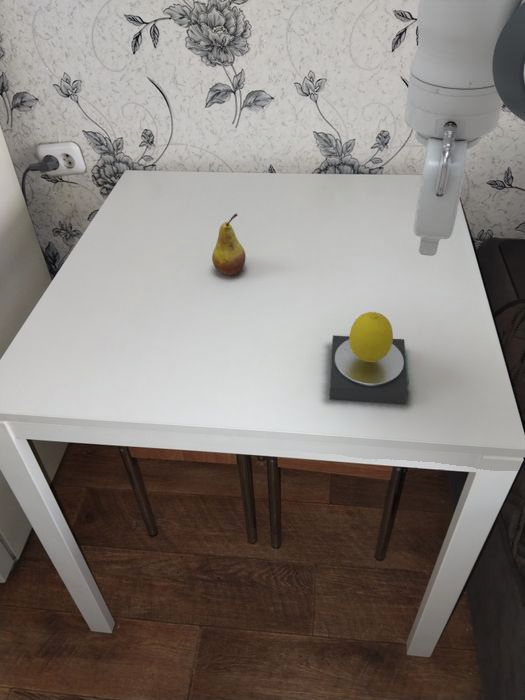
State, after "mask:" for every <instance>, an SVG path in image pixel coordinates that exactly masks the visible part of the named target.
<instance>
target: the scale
mask: <svg viewBox="0 0 525 700" xmlns="http://www.w3.org/2000/svg"><path fill="white" fill-rule="evenodd" d="M349 337H350V335H336V334H335V335H332V340H331V359H330V360H331V361H330V378H329V379H330V380H329V400H331V401H346V402H357V403H358V402H359V403H372V404H373V403H375V404H388V405H390V404H391V405H404V406H405V405H406V404H407V399H408V395H409V384H410V377H409V364H408V354H406V345H405V344H406V343H405V339H404V338H393V341H392V344H393V345H394V346H396V347H397V348H398V349H399V351H400V352H401V354H402V356H403V360H404V365H403V370H402V373H401V374H400V376H399V377H398V378H397V379H396V380H395V381H393V382H391V383H390V384H387V385H384V386H380V387H364V386H360V385H356V384H354V383H351V382H350V381H348V380H346V379H345V378H344V377H342V376H341V375H340V373H339V372H338V370H337V369H336V366H335V353H336V351H337V349H338V347H339V346H340V345H341V344H342V343H344V342H345V341H347V340H349Z"/></svg>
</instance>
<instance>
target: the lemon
mask: <svg viewBox="0 0 525 700" xmlns="http://www.w3.org/2000/svg"><path fill="white" fill-rule="evenodd" d="M349 332H350V333H349V336H350V337H349V341H350V347H351V349H352V351H353V353H354V355H355V356H356V357H357V358H359V359H360V360H363V361H365V362H376V361H379V360H381V359H382V358H384V357H385V356H386V355H387V353H388V352H389V350H390V348H391V345H392V341H393V339H394V333H393V327H392V324H391V322H390V320H389V319H388V318H387V317H386V316H385V315H384V314H382V313H379V312H376V311H368V312H365V313H362V314H360V315H359V316H358V317H357V318H356V319H355V321H354V322H353V323H352V325H351V329H350V331H349Z"/></svg>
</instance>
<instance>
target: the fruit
mask: <svg viewBox="0 0 525 700" xmlns="http://www.w3.org/2000/svg"><path fill="white" fill-rule="evenodd" d="M238 216H239V215H238V213H234V214H233V215H232V217H230V219H229V220H228V221H225V222H223V223H222V224H221V225H220V227H219V230H218V237H217V240H216V244H215V247H214V249H213V251H212V256H211V260H212V264H213V266H214V268H215V269H216V270H217V271H218V272H219V273H221V274H224V275H226V276H233V275H236V274H239V272H241V270H242V269H243V268H244V267H245V264H246V260H247V259H246V258H247V257H246V252H245V249H244V247H243V245H242V244H241V243H240V241H239V240H238V238H237V236H236V233H235V230H234V228H233V226H232V225H231V222H232V221H233V220H234V219H235V218H237V217H238Z"/></svg>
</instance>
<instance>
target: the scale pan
mask: <svg viewBox="0 0 525 700" xmlns="http://www.w3.org/2000/svg"><path fill="white" fill-rule="evenodd" d="M403 365H404V360H403V356H402V354H401V352H400V351H399V349H398V348H397V347H396V346H394V345H393V344H392V345H391V348H390V350H389V352H388V353H387V355H386V356H385V357H384V358H382V359H381V360H379V361H376V362H365V361H363V360H360V359H359V358H357V357H356V356H355V355H354V353H353V351H352V349H351V347H350V341H349V340H347V341H345V342H344V343H342V344H341V345H340V346H339V347H338V349H337V351H336V353H335V366H336V369H337V370H338V372H339V373H340V375H341V376H342V377H344V378H345V379H346V380H348V381H350V382H351V383H354V384H356V385H360V386H364V387H380V386H384V385H387V384H390V383H391V382H393V381H395V380H396V379H397V378H398V377H399V376H400V374H401V373H402V370H403Z"/></svg>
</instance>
